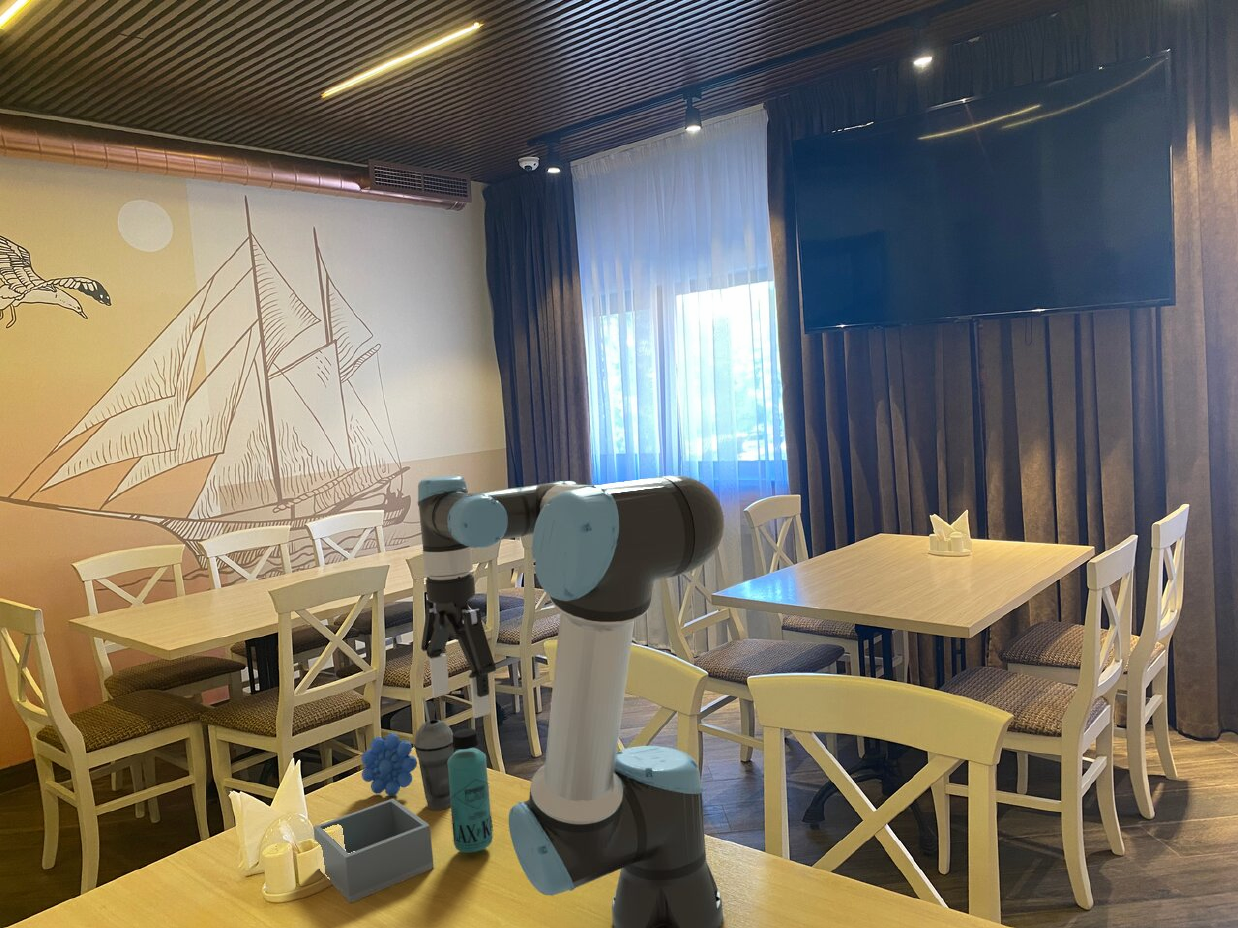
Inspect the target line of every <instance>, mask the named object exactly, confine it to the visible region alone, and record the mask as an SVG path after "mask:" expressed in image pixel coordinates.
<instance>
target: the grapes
mask: <svg viewBox="0 0 1238 928" xmlns="http://www.w3.org/2000/svg"><path fill="white" fill-rule="evenodd" d="M369 748H370V749H367V750H365V751H363V753H362V755H361V756H360V760H361V763H362V765H363V766H365V767H364V768H363V769H362V771H361V778H362V780H363V781H365V782H366V783H370V782H371V783H370V789H371V792H372V793H374V794H376V795H377V794H381V793H383V792H385V794H386V795H388V796H391V797H393V796H396V795H397V794H398V793H399V792H400V789H401V788H406V787H409V786H410V785H411V784H412V782H413V775H412V772H413V771H414V770H416V768H417V766H418V761H417V758H416V756H414V755H410V754H411V752H412V751H413V746H412V743H411V742H410V741H409V740H402V741H400V737H399V735H397V734H396V733H389V734H387V735H386V736H385V738H383V737H379V736H376V737H375V738H373V739H372V741H371V742H370V745H369Z"/></svg>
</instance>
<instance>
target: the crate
mask: <svg viewBox="0 0 1238 928" xmlns="http://www.w3.org/2000/svg"><path fill="white" fill-rule="evenodd" d="M337 824H339V825H341V826H342V828H343V835H344V844H345V849H346V851H345V850H344V849H343V848H342V847H341V846H340V845H339V844H338V843H337V842H336V841H335V840H334V839H332V838H331V837H330V836H329V835H328V834H327V833H326V832H325V831H324V830H323V829H325V828H327V827H330V826H332V825H337ZM313 837H314V838H313V839H314V841H315V840H316V841H317V842H318V843H319V844H320V845H321V847H322V850H323V857H324V865H325V874H326V875H327V877H329V878H330V881H331V882H330V881H329V882H330V883H331V884H332V886H333V887H334V888H335V889H336V890H337V891H338V892H339V893H340V894H341V895H342V897H344V898H345V899H346V900H347V901H348V902H349V904H352V903H353V902H356V901H359V900H361V899H363V898H364V899H365V898H366V897H368V896H371V895H373V894H376V893H378V892H380V891H383V890H385V889H387V888H391V887H392V886H394V885H397V884H399V883H401V882H404V881H406V880H409V879H411V878H414V877H416V876H419V875H420V874H423V873H425V872H426V873H427V872H428V871H431V870H433V869H434V868H435V867H434V856H433V846H432V835H431V825H430V824H429V823H427V822H426V821H424V820H423V819H422V818H420V817H419V815H416V814H415V813H414V812H413V811H411V810H410V809H409V808H407V807H406V806H405V805H403V804H402V803H401V802H399V801H397V800H396V799H395V798H390V799H387V800H385V801H382V802H379V803H376V804H374V805H370V806H368V807H366V808H362V809H360V810H357V811H354V812H352V813H349V814H345V815H343V816H340V817H336V818H334V819H331V820H329V821H326V822H323V823H320V824H318V825H315V826H314V825H313ZM353 851H355V852H353ZM351 852H352V853H351ZM348 853H350V854H348Z"/></svg>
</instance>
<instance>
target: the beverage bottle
mask: <svg viewBox="0 0 1238 928" xmlns="http://www.w3.org/2000/svg"><path fill="white" fill-rule="evenodd" d="M452 733H453V732H452ZM479 743H480V742H479V737H478V732H477V730H476V729H474V728H462V729H458V730H456V731H455V732H454V733H453V748H454V750H455V752H454V751H453V754H452V755H451V756H450V758H449V759H448V761H447V765H448V774H449V786H450V799H449V800H450V802H451V806H449V808H450V815H451V818H450V822H451V827H452V839H453V845H454V848H455V849H456V850H457V851H458V852H462V853H474V852H480V851H482V850H484V849H487V848H488V847H489V846H490V845H491V844H492V842H493V833H494V829H493V828H494V826H493V818H492V813H493V812H492V811H491V800H490V797H491V795H490V786H489V785H490V783H489V781H488V780H489V779H488V769H487V768H488V767H487V755H486V754H485V753H484V752H483V751H481V750H480V749H478V748H476V747H477V746H478V745H479Z"/></svg>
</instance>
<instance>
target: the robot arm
mask: <svg viewBox="0 0 1238 928" xmlns="http://www.w3.org/2000/svg"><path fill="white" fill-rule="evenodd" d="M468 491H469V490H468V489H467V482H466V480H465V478H464V477H463V476H461V475H443V476H441V475H440V476H435V477H428V478H427V477H426V478H424V479H422V480H420V481H419V483H418V485H417V506H418V511H419V513H418V514H419V522H420V533H421V534H420V535H421V542H422V558H423V571H424V575H425V576H427V578H426V579H425V588H426V599H427V600H426V601H425V610H426V611H425V618H424V626H423V633H422V639H421V648H420V649H421V650H422V651H423V652H426V656H427V657H428V659H429V661H428V662H429V668H430V669H429V670H430V671H429V672H430V681H431V693H432V697H433V698H434V699H435V698H438V697H442V696H445V695H448V694H450V684H449V674H448V673H449V672H448V670H449V669H448V660H447V655H446V654H447V650H446V646H447V642H448V640H449V637H450V635H452V637H453V638H454V640H456V641H457V642H458V643H459V645H460V648H461V650H462V653H463V655H464V658H465V660H466V662H467V664H468V667H469V670H471V672H470V674H469V675H468V678H469V686H470V695H471V708H472V718H475V719H477V718H481V717H483V716H486V715H490V714H492V710H491V699H490V698H491V697H490V688H489V674H490V673H494V672H496V670H497V668H496V667H497V666H496V664H495V661H494V657H493V655H492V650H491V647H490V645H489V641H488V638H487V635H486V632H485V628H484V625H483V621H482V613H481V610H480V608H475V609H471V610H470V606H469V601H470V600H471V599H472V598H474V596H475V595H476V586H475V585H476V584H475V575H474V574H473V573H472V572H471V571H472V570H473V568H474V567H473V556H472V555H473V553H474V551H473V549H472V548H475V549H476V548H488V547H492V546H494V545H495V544H496V543H498V542H499V541H503V540H508V539H509V540H510V539H515V538H520V537H521V538H522V537H524V536H531V535H532V540H531V541H532V545H531V553H532V559H533V560H535V565H534V567H533V568H534V573H535V575H536V579H537V580H538V583H539V585H540V586H541V588H542V589H543V591H544V592H545V593H546V594H547V595H548V596H549V599H550V602H551V604H552V606H553V607H554V608H556V609H557V610H558V611H559V613H560V614H559V625H558V633H557V644H556V652H555V653H556V654H555V665H554V670H553V671H554V673H553V674H554V675H553V683H552V694H551V700H550V701H551V702H550V703H551V704H550V712H549V721H548V722H549V723H548V731H547V732H548V733H547V741H546V751H545V760H544V761H545V762H544V764H543V765H541V767H539V769H537V770H536V772H535V773H534V774H533V776H532V779H531V781H530V786H529V787H530V789H529V797H528V798H529V799H527V800H526V801H523V800H520V801H518V802H517V804H515V805H513V806H512V807H511V808H510V810H509V813H508V827H509V828H508V829H509V834H510V835H509V836H510V839H511V843H512V846H513V848H514V849H513V850H514V852H515V856H516V857H517V861H518V863H519V865H520V867H521V870H522V871H523V873H524V874H525V876H526V878H527V880H528V881H529V882H530V884H531V885H532V887H534V889H536V890H537V892H538V893H541V894H542V895H545V896H552V897H553V896H556V895H559V894H562V893H565V892H567V891H570V892H572V891H574V890H575V889H576V888H577V889H578V888H579V887H581V886H584V885H586V884H588V883H591V882H593V881H596V880H598V879H601V878H602V877H605V876H607V875H610V874H612V873H615V872H616V871H619V870H620V871H619V875H618V881H617V885H616V891H615V893H614V896H613V899H612V902H611V913H612V914H611V915H612V916H611V917H612V925H613V928H721V925H722V924H723V919H724V912H723V901H722V899H723V898H722V896H721V893H720V891H719V889H718V886H717V884H716V881H715V878H714V876H713V874H712V871H711V867H710V866H709V864H708V860H707V853H706V838H705V837H706V836H705V824H704V823H705V821H704V809H703V807H704V806H703V792H704V791H703V790H704V789H703V786H702V778H701V773H700V766H699V765H698V763H697V761H696V760H695V759H694V757H692V756H691V755H690V754H688V753H686V752H684V751H682V750H680V749H676V748H672V747H667V746H662V745H661V746H660V745H638V746H632V747H626V748H624V749H621V750H619V751H618V746H619V739H620V738H619V736H620V731H621V730H620V729H621V722H622V716H623V709H624V701H625V696H626V695H625V693H626V687H627V686H626V685H627V678H628V671H629V663H630V658H631V651H632V649H631V648H632V641H633V635H634V627H635V626H634V625H635V621H636V620H639V619H640V618H642V617H643V616H644V615H646V613H647V612H648V611H649V610H650V608H651V602H652V596H653V595H652V594H653V588H654V584H655V582H657V581H661V580H664V579H668V578H669V579H670V578H673V577H678V576H682V575H686V574H688V573H690V572H692V571H694V570H697V569H699V568H700V567H702V566H703V565H704V564H705V563H707V562H708V561H709V560H710V559H711V557H712V556H714V554H715V553H716V551H717V549H718V547H719V546H720V544H721V541H722V538H723V535H724V531H725V530H724V529H725V519H724V518H725V516H724V512H723V508H722V505H721V503H720V501H719V499H718V497H717V496H716V494H715V493H714V492H713V491H712V490H711V489H710V488H709V487H708V486H707V485H705V484H704V483H703V482H702V481H700V480H697V479H694V478H692V477H688V476H683V475H662V476H656V477H651V478H644V479H637V480H629V481H624V482H623V481H621V482H614V483H606V484H601V485H598V484H578V483H577V482H575V481H572V480H567V481H563V480H562V481H561V480H559V481H557V480H556V481H550V482H549V483H548V482H547V483H541V484H533V485H527V486H520V487H511V488H503V489H495V490H488V491H481V492H480V491H479V492H473V493H472V492H470V493H469V492H468Z"/></svg>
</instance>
